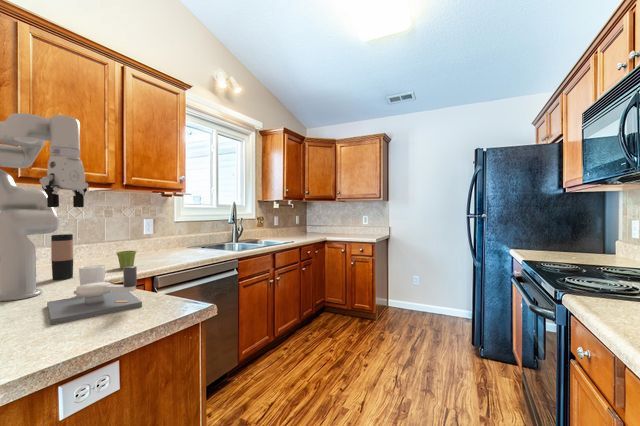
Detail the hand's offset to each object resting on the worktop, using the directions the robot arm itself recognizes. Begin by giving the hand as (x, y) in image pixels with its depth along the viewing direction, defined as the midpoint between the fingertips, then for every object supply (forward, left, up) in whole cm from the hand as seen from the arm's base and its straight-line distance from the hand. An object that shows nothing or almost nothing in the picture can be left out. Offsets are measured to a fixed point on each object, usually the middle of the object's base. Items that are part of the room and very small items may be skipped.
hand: (66, 207), depth 99 cm
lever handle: (+10, +9, -28) cm, 31 cm away
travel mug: (-52, +2, -32) cm, 61 cm away
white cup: (-12, +8, -32) cm, 36 cm away
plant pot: (-61, +29, -32) cm, 75 cm away
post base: (+8, +6, -32) cm, 34 cm away
